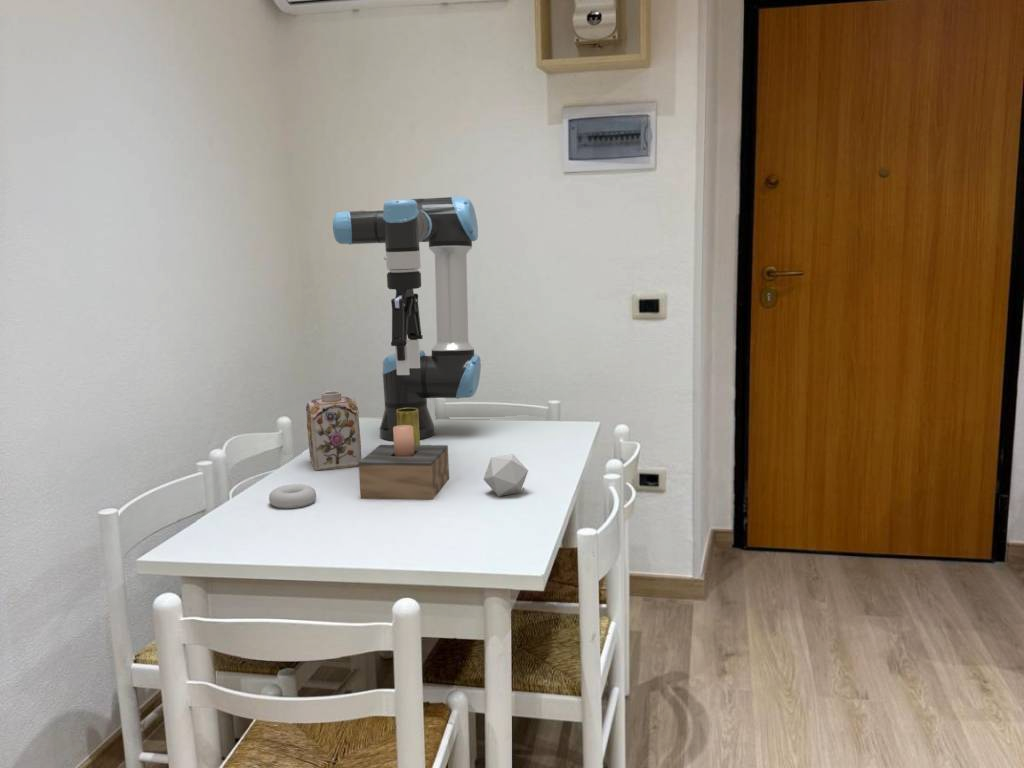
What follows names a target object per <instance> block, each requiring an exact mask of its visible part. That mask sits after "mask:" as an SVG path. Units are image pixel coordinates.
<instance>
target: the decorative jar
mask: <svg viewBox="0 0 1024 768" xmlns="http://www.w3.org/2000/svg"><path fill="white" fill-rule="evenodd" d="M305 411H306V427H307V428H306V429H307V438H308V439H307V440H308V451H309V460H310V463H311V464H312V466H313V469H314V470H315V471H316V472H318V471H328V470H335V469H345V468H346V469H347V468H356V467H359V463H358V462H360V461H361V460H362V444H361V428H360V416H359V415H360V414H359V407H358V406H357V401H356V400H355V398H353V397H348V396H342V391H340V390H339V391H338V390H328V391H327V390H326V391H324V392H321V397H320V398H314V399H312V400H309V401H308V402H307V403H306V406H305Z"/></svg>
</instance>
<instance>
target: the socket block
mask: <svg viewBox="0 0 1024 768" xmlns="http://www.w3.org/2000/svg"><path fill="white" fill-rule="evenodd" d="M414 454H415V455H414V456H395V454H394V444H379V445H378V446H377V447H376V448H374V449H373V450H372V451H371V452H370V453H368V454H367V455H366V456H364V457H363V458H361V461H360V462H358V463H359V466H358V476H359V477H358V478H359V491H360V499H379V500H380V499H385V500H386V499H387V500H389V499H391V500H434V498H435V497H436V496H437V495H438V494H439V492H440V491H441V490H442V489H443V487H444V486H445V485H446V484H447V482H448V481H449V480H450V464H449V445H448V444H434V445H432V444H420V445H414Z"/></svg>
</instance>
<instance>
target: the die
mask: <svg viewBox="0 0 1024 768" xmlns="http://www.w3.org/2000/svg"><path fill="white" fill-rule="evenodd" d="M528 472H529V469H528V468H527V467H526V466H525V465H524V464H523V463H522V462H521V461H520V460H519V459H518V457H516V455H515V454H513V453H512V454H511V453H510V454H504V455H498V456H491V457H490V460H489V462H488V466H487V469H486V471H485V473H484V476H483V481H484V482H485V483H486V484H487V485H488V486H489V487H490V489H491V490H492V491H493V492H494V493H495V494H496V495H497V496H498V497H501V496H508V495H513V494H515V495H516V494H519V492H520V493H521V491H522V489H523V487H524V484H525V481H526V479H527V475H528V474H529V473H528Z"/></svg>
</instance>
